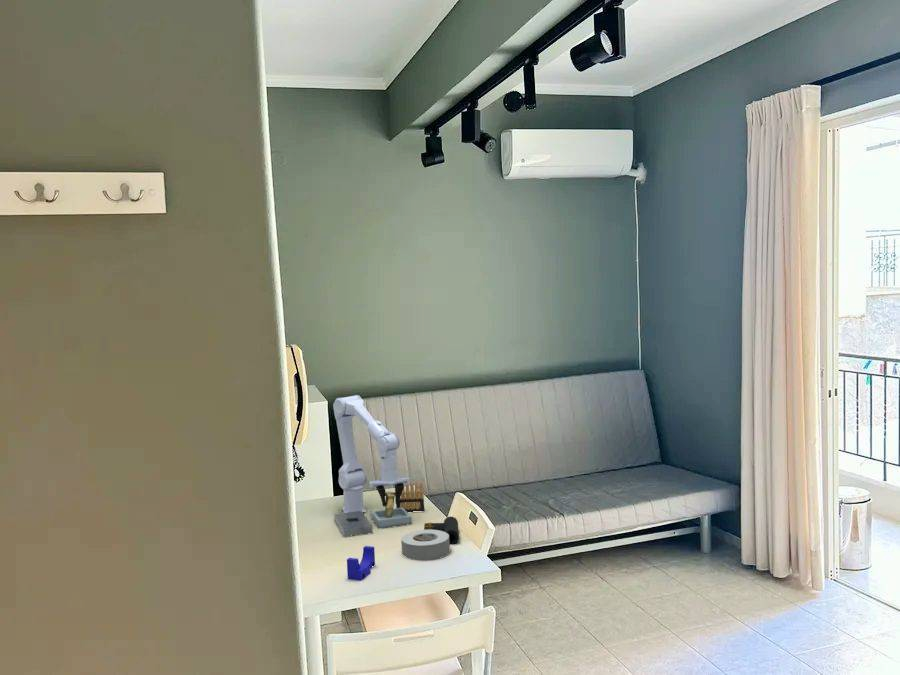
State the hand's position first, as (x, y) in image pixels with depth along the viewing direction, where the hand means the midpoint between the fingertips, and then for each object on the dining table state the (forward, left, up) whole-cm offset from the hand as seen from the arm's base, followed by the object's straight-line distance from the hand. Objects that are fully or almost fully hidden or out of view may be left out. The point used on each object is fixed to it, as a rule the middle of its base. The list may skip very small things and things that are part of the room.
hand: (390, 505), depth 275 cm
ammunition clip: (-9, +10, -6) cm, 15 cm away
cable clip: (+45, -19, -7) cm, 49 cm away
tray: (0, 0, -6) cm, 6 cm away
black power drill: (+24, +12, -7) cm, 27 cm away
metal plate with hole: (0, -14, -6) cm, 15 cm away
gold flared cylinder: (0, -1, -4) cm, 4 cm away
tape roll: (+35, +3, -7) cm, 36 cm away
